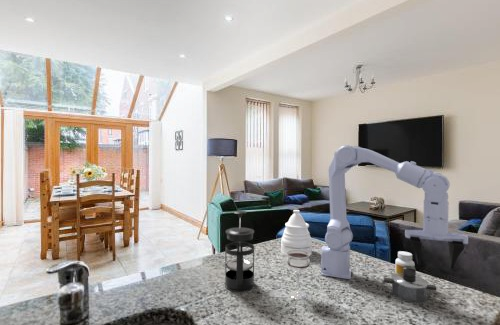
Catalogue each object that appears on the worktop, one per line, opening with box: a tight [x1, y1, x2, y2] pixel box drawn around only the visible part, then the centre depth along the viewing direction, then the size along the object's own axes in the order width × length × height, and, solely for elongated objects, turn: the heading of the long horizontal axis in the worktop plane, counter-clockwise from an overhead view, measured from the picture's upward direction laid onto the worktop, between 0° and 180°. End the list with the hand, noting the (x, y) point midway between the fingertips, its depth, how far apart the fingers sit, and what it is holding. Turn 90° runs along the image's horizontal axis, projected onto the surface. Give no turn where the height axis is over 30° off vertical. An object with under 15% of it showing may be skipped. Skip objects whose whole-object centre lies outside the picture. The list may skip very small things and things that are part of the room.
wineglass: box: [286, 250, 311, 300], centre depth 80 cm, size 7×7×12 cm
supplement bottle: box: [394, 250, 416, 274], centre depth 87 cm, size 5×5×10 cm
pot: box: [383, 277, 437, 304], centre depth 80 cm, size 13×9×4 cm, turn 69°
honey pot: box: [280, 209, 313, 257], centre depth 116 cm, size 13×13×18 cm
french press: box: [224, 210, 255, 293], centre depth 85 cm, size 12×9×23 cm
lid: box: [391, 266, 429, 289], centre depth 80 cm, size 9×9×4 cm
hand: (434, 265), depth 77 cm, fingers open, 7 cm apart
